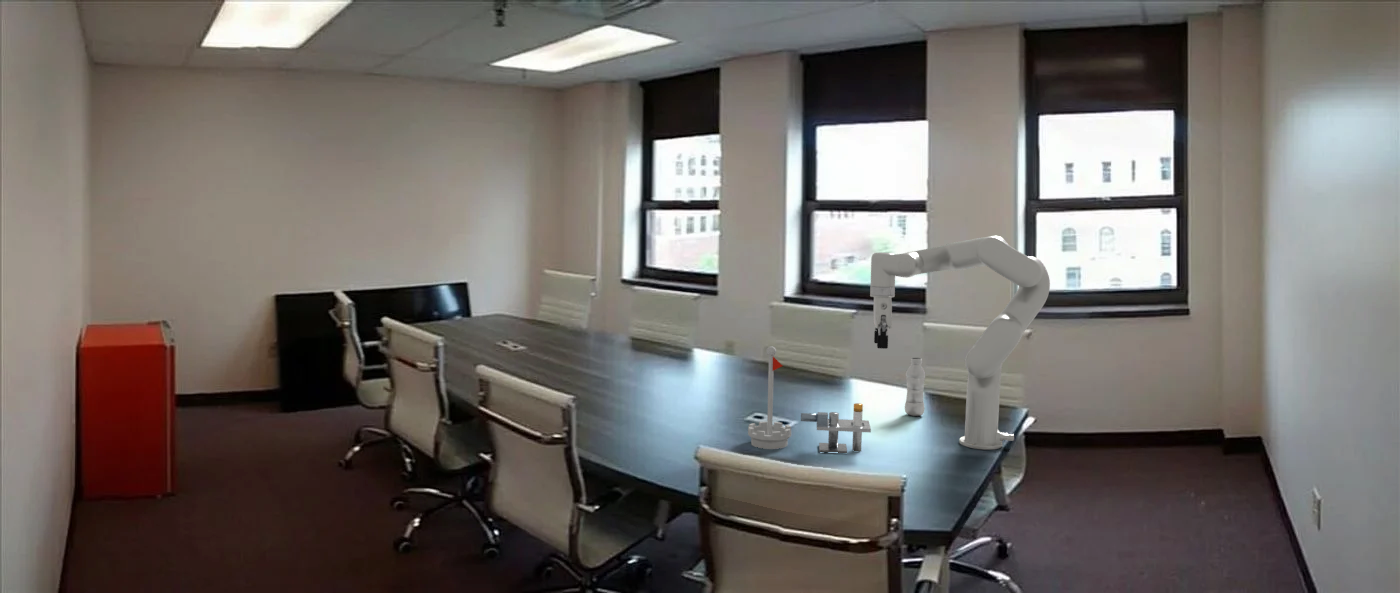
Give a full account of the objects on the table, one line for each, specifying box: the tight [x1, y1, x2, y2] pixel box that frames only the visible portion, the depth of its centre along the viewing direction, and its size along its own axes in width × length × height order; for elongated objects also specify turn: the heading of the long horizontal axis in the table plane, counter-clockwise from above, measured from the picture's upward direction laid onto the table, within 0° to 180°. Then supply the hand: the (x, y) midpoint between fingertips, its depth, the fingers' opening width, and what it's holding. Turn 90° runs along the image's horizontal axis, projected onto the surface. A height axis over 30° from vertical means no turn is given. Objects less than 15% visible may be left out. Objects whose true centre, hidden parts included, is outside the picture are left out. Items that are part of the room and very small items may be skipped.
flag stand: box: [747, 346, 792, 450], centre depth 268 cm, size 13×13×30 cm
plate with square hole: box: [800, 411, 872, 454], centre depth 264 cm, size 20×10×11 cm, turn 83°
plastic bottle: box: [904, 357, 926, 417], centre depth 307 cm, size 6×7×20 cm
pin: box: [851, 403, 864, 452], centre depth 263 cm, size 3×3×14 cm
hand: (880, 345), depth 282 cm, fingers open, 9 cm apart
